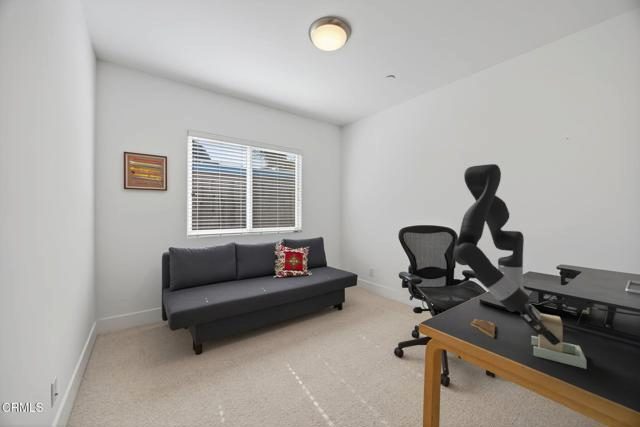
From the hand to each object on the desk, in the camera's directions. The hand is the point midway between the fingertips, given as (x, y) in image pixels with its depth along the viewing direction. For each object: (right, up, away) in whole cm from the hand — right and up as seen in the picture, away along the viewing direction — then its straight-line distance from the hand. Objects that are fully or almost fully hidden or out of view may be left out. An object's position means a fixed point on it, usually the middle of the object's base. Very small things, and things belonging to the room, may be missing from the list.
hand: (554, 337), depth 76 cm
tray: (0, -5, 0) cm, 5 cm away
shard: (-9, -6, +17) cm, 20 cm away
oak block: (-1, -5, +1) cm, 5 cm away
